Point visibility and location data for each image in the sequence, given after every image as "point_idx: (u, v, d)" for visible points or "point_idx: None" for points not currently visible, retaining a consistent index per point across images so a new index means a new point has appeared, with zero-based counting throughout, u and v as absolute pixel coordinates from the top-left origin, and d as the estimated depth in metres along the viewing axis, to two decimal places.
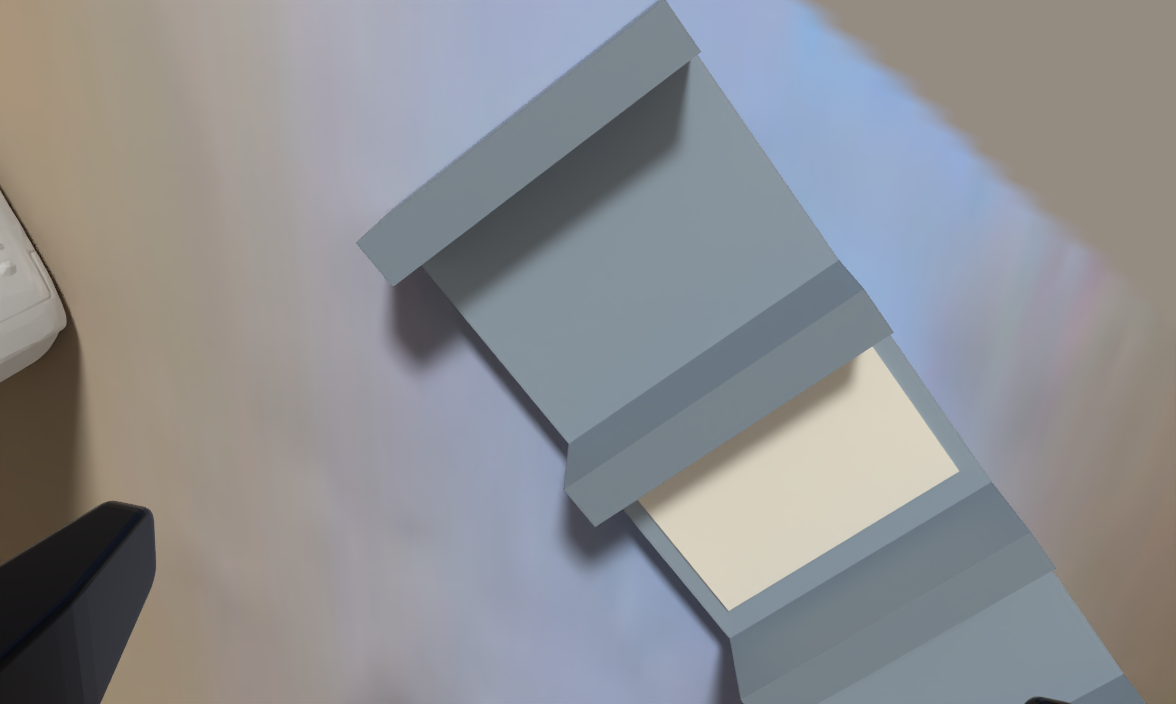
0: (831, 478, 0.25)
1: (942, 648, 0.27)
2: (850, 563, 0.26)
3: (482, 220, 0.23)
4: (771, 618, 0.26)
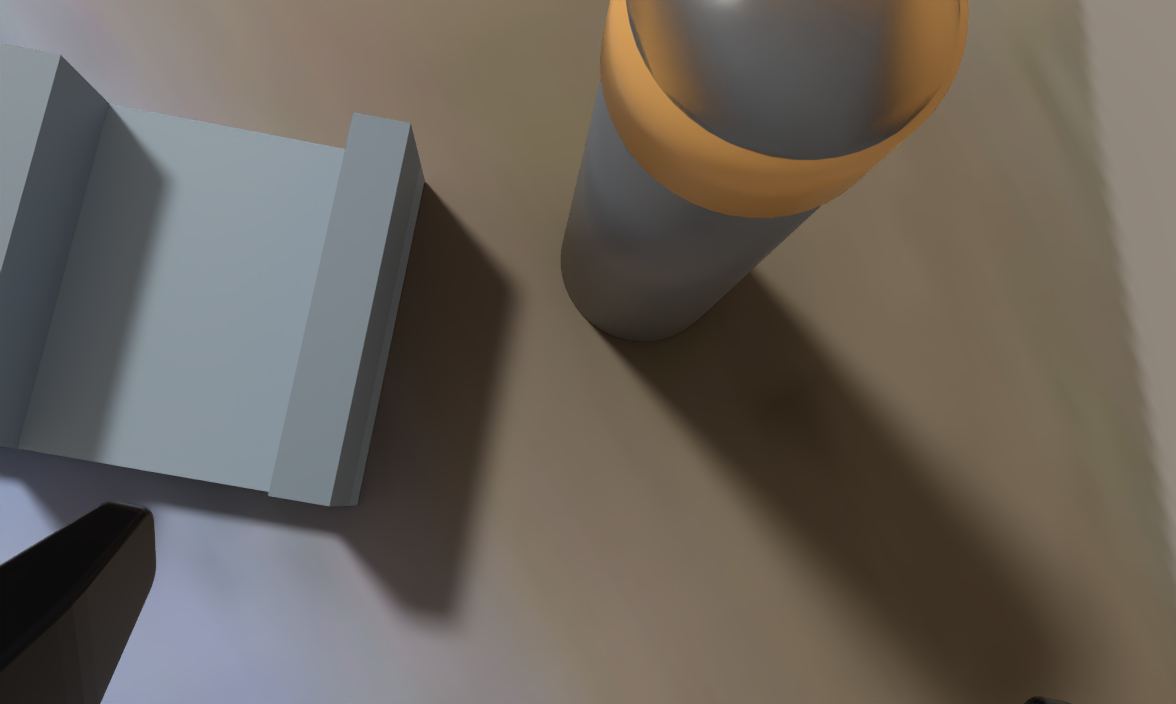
0: None
1: (179, 271, 0.22)
2: None
3: None
4: None
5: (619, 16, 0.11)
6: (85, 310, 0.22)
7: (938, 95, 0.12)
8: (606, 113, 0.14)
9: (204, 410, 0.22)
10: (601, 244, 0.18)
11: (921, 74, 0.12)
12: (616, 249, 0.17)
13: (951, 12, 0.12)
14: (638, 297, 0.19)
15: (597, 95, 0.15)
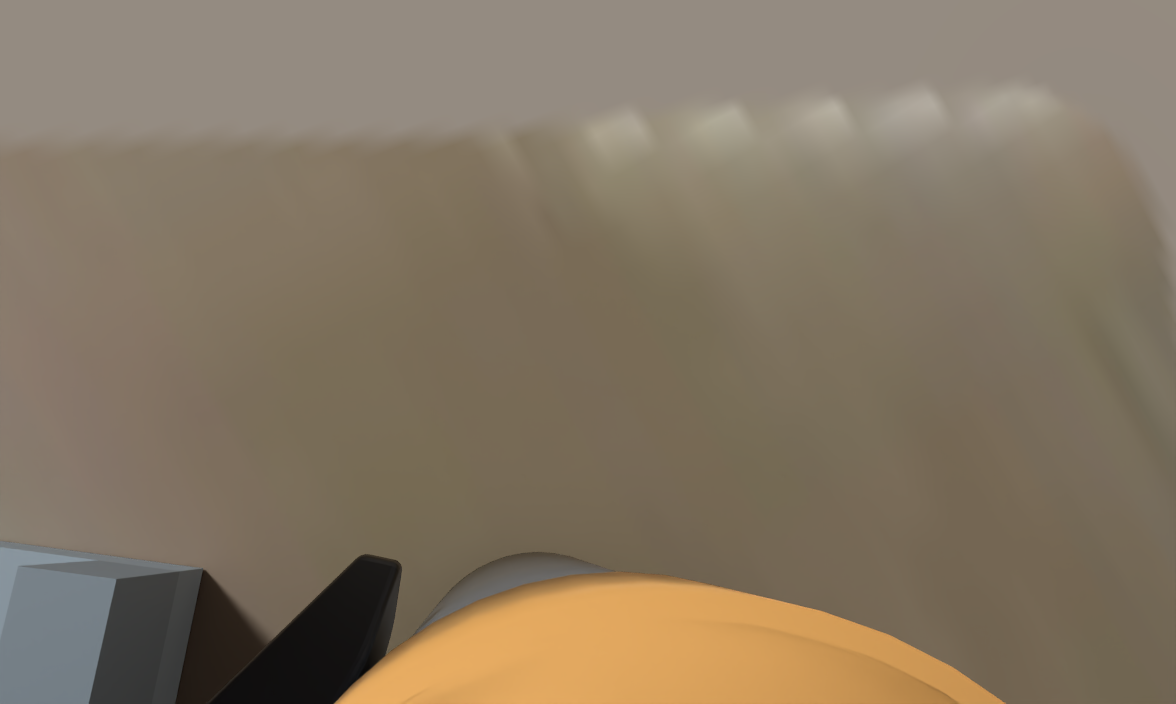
0: None
1: None
2: None
3: None
4: None
5: None
6: None
7: None
8: None
9: None
10: None
11: None
12: None
13: None
14: None
15: None
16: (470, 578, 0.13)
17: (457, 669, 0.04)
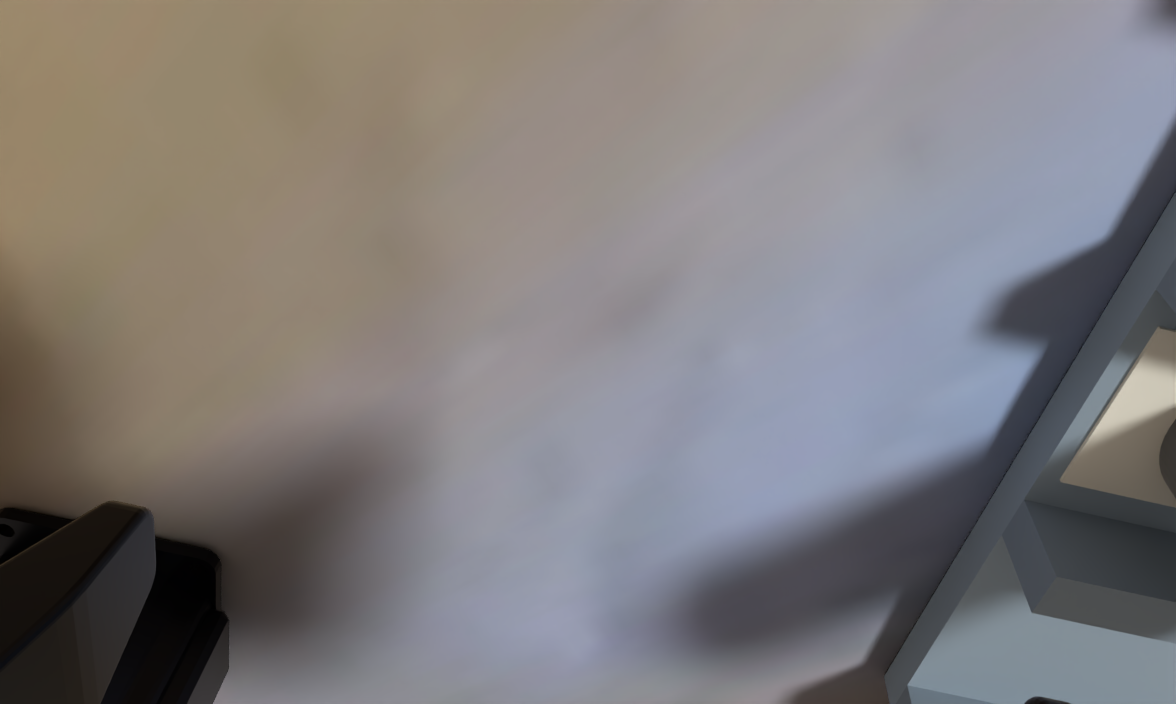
0: None
1: (1123, 635, 0.26)
2: None
3: None
4: (1079, 516, 0.23)
5: None
6: None
7: None
8: None
9: (994, 643, 0.26)
10: None
11: None
12: None
13: None
14: None
15: None
16: None
17: None
